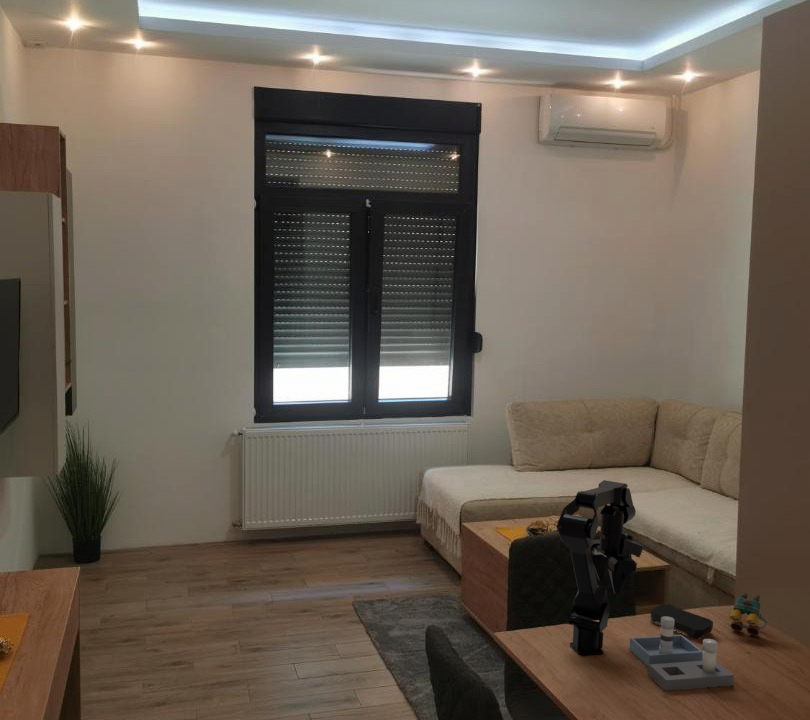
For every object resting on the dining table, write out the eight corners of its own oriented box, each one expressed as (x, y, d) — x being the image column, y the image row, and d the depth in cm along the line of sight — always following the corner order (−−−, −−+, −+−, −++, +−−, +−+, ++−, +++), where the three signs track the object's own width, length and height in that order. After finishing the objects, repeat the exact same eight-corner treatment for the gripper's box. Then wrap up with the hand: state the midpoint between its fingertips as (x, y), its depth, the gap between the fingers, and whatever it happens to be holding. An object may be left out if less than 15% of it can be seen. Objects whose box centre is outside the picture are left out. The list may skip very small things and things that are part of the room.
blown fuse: (662, 657, 208) (665, 621, 207) (656, 651, 211) (658, 616, 210) (674, 656, 209) (677, 621, 208) (668, 650, 212) (670, 616, 211)
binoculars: (727, 635, 229) (723, 611, 224) (735, 608, 235) (732, 584, 230) (763, 644, 224) (761, 620, 219) (771, 617, 230) (769, 592, 225)
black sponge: (716, 635, 224) (717, 621, 224) (697, 642, 219) (698, 629, 219) (663, 615, 237) (664, 602, 237) (645, 622, 232) (645, 609, 232)
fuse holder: (665, 690, 192) (666, 680, 192) (648, 674, 200) (649, 664, 199) (733, 685, 195) (733, 675, 195) (713, 669, 203) (714, 659, 203)
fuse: (705, 682, 197) (707, 645, 196) (698, 676, 200) (700, 639, 199) (717, 681, 197) (720, 644, 196) (710, 675, 200) (712, 638, 199)
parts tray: (648, 667, 203) (649, 655, 203) (629, 649, 213) (629, 637, 213) (702, 663, 206) (703, 651, 206) (680, 646, 216) (681, 634, 216)
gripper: (657, 538, 214) (654, 598, 216) (624, 518, 232) (621, 573, 234) (616, 540, 212) (613, 600, 213) (586, 519, 230) (583, 575, 232)
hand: (608, 587), depth 223 cm, fingers open, 9 cm apart
